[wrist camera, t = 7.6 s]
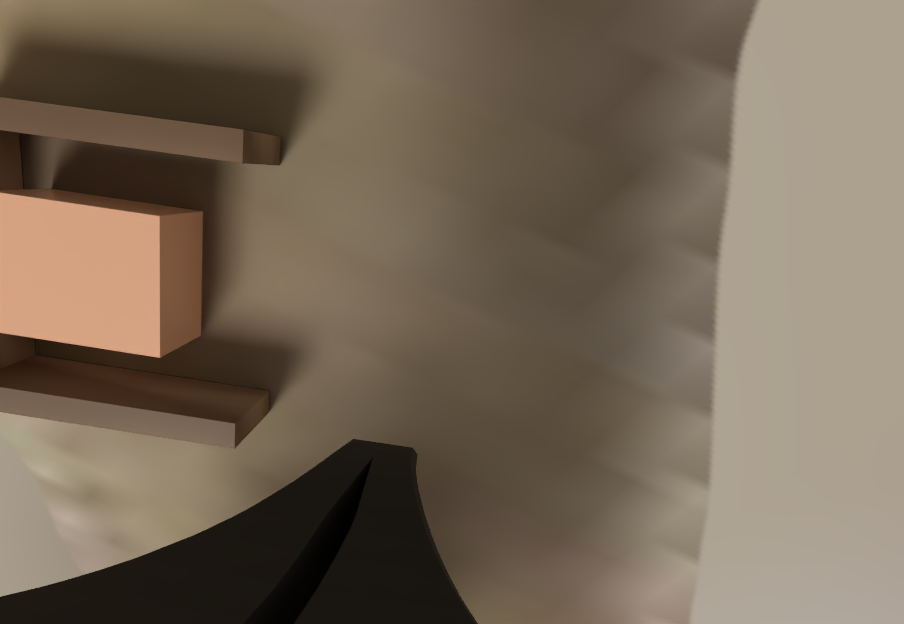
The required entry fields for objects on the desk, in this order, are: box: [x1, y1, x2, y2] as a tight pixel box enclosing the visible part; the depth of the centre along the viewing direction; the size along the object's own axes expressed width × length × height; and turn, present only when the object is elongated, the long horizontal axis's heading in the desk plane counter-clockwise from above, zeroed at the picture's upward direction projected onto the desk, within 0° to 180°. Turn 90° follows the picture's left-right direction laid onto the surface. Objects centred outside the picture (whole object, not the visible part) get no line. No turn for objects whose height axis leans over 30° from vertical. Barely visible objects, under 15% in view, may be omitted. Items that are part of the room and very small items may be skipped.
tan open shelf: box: [0, 97, 281, 449], centre depth 19 cm, size 11×11×3 cm
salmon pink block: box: [0, 189, 203, 358], centre depth 20 cm, size 5×6×3 cm
